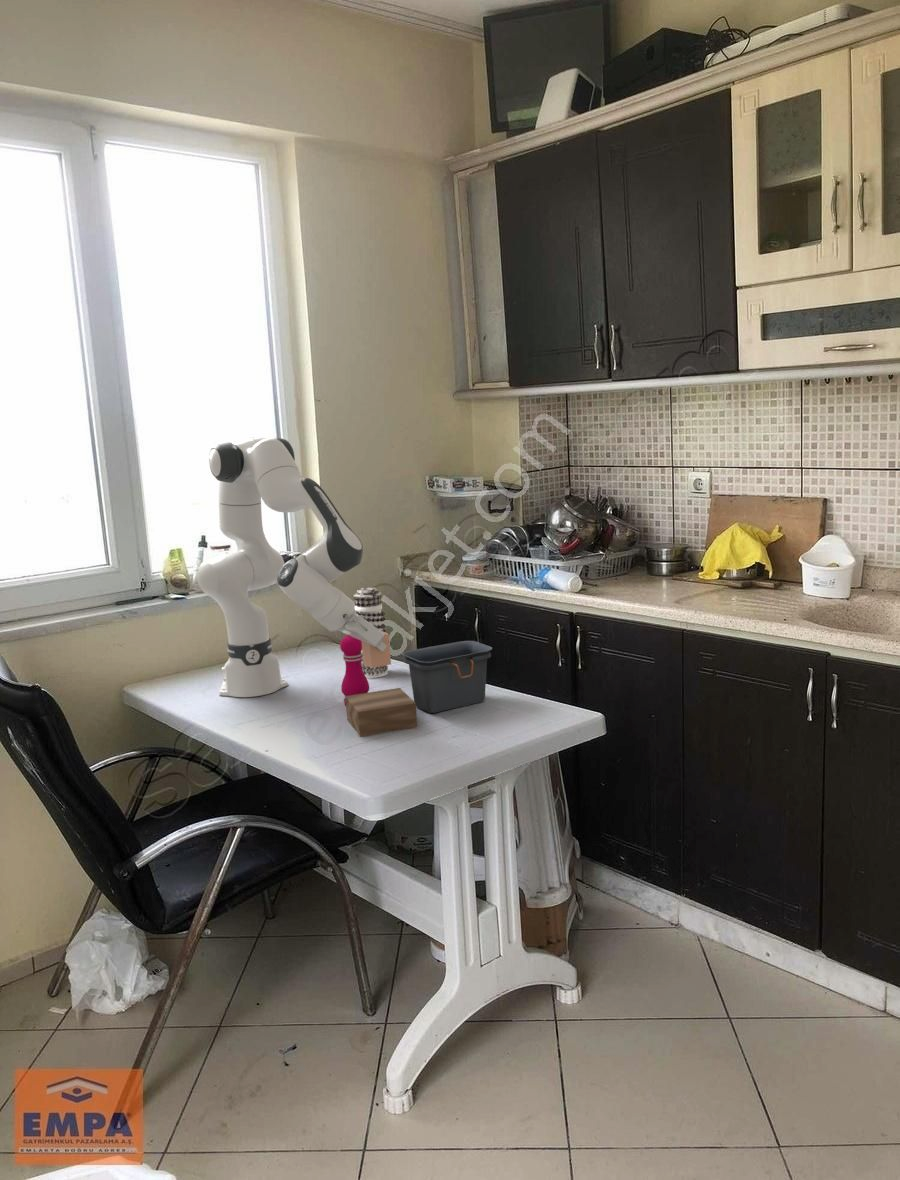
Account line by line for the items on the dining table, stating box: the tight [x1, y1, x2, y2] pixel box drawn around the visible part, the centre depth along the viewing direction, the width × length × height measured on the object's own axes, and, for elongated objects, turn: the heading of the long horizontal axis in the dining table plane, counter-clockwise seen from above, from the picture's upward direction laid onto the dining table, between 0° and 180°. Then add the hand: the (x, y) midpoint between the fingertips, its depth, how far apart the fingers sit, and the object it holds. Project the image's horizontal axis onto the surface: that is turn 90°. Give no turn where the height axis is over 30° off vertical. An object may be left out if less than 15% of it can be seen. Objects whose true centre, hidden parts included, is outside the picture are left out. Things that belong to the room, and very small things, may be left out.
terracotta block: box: [362, 630, 392, 668], centre depth 227 cm, size 5×5×8 cm
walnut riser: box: [344, 687, 418, 738], centre depth 230 cm, size 14×14×6 cm
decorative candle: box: [353, 586, 389, 679], centre depth 272 cm, size 9×9×25 cm
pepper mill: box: [339, 635, 370, 707], centre depth 245 cm, size 7×7×20 cm
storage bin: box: [402, 640, 493, 714], centre depth 240 cm, size 21×16×14 cm
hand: (378, 645), depth 227 cm, fingers closed on terracotta block, 5 cm apart
